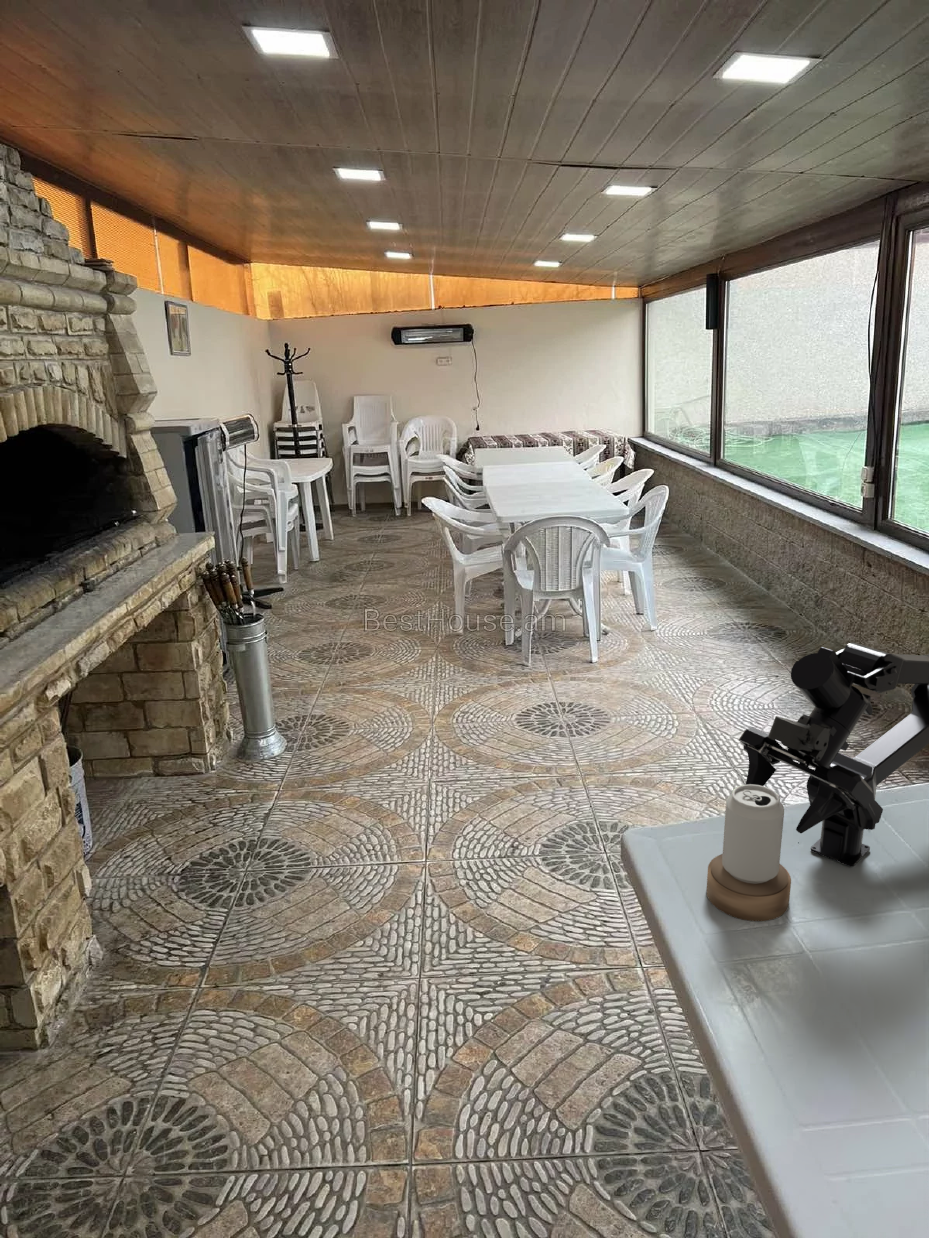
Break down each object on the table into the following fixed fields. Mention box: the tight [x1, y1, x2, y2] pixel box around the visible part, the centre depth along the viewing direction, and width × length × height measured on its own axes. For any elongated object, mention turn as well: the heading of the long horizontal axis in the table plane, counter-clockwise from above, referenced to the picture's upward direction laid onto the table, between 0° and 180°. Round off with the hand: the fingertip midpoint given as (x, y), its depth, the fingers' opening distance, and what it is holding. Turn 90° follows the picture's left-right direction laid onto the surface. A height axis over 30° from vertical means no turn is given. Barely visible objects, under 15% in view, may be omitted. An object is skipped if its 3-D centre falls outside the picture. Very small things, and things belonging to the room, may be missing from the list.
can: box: [722, 784, 785, 884], centre depth 117 cm, size 8×8×12 cm
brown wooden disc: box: [706, 853, 792, 922], centre depth 120 cm, size 11×11×4 cm
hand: (770, 816), depth 118 cm, fingers open, 9 cm apart
